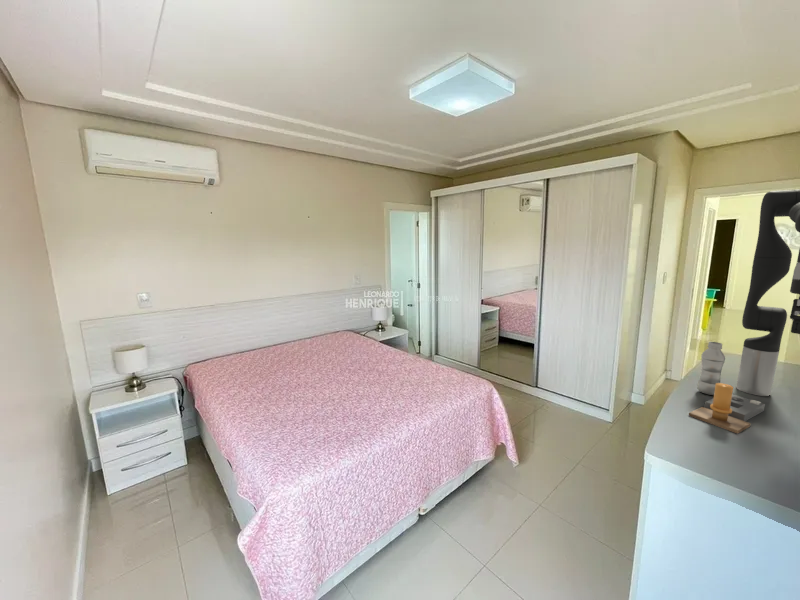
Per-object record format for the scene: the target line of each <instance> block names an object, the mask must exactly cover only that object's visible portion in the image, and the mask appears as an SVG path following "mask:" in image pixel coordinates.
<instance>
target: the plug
mask: <svg viewBox="0 0 800 600" xmlns="http://www.w3.org/2000/svg"><path fill="white" fill-rule="evenodd" d="M733 392H734V386H732V385H730V384H727V383H722V382H720V383H716V385H715V392H714V395H713V398H714V399H713V398H712V399H713V404H711V405H710V408H711V409H712V410H713V412H712V417H713V418H715V419H718V420H722V421H727V419H728V414H730V413H732V409H731V408H730V406H731V399H732V394H733Z"/></svg>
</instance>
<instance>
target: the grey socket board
mask: <svg viewBox="0 0 800 600" xmlns="http://www.w3.org/2000/svg"><path fill="white" fill-rule="evenodd" d="M713 399H714V397H712V398H710V399H709V400H706V401H705V402H704V406H703V407H704V408H707V409H710V410H712V409H711V408H710V405H711V404H713ZM765 406H766V404H765V403H762V402H761V401H759V400H755V399H749V398H746V397H742V396H739V395H736V394H733V393H732V399H731V406H730V408H731V409H732V413H730V414H728V416H731V417H734V418H737V419H739V420H742V421H745V422H747V421H748V420H750V419H752V418H753V417H755V416H758V415H759V414H760V413H763V412H764V411H765Z"/></svg>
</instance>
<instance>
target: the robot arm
mask: <svg viewBox="0 0 800 600" xmlns="http://www.w3.org/2000/svg"><path fill="white" fill-rule="evenodd" d="M759 213H760V215H759V224H758V234H757V235H758V236H757V241H756V246H755V251H754V255H753V259H752V260H753V261H752V266H751V274H750V275H751V276H750V283H749V289H748V293H747V298H746V301H745V306H744V309H743V312H742V313H743V314H742V320H741V324H742V327H743V328H744V329H745V330H753V331H758V332H759V331H760V332H767V333H768V332H769V333H768V334H766V335H765V334H764V335H763V336H757V337H756V336H755V337H749V338H745V339H744V340H743V341H744V342H743V345H742V353H741V358H740V364H739V370H738V375H737V381H736V386H735V387H736V389H737V390H739V391H740V392H743V393H745V394H750V395H754V396H759V397H770V396H771V395H772V390H773V386H774V380H775V375H776V371H777V367H778V366H777V365H778V361H779V354H780V349H781V344H782V343H781V342H782V337H783V334H784V329H785V327H786V323H787V319H788V312H787V310H786V309H785V308H783V307H774V306H765V305H764V306H763V305H762V306H761V305H758V303H759V302H760V301H761V299H762V297H763V296H764V295H766V293H767V292H768V291H769V290H770V289H771V288H773V287H774V286H775V285H776V284H778V283H779V282H780V281H781V280H782V279H784V278H785V277H786V276H787V275H788V274H789V271H790V269H791V263H792V256H793V253H792V250H791V249H790V247H789V246H788V243H786V241H785V240H784V239H783V238H782V236H781V235H780V234H779V231H778V230H777V227H776V223H775V218H776V217H777V218H780V217H781V218H782V217H789V219H790V220H791V221H792V222H794V223H795V224H794V227H795V230H796V232H797V233H800V189H799V188H798V189H784V190H783V189H781V190H770V191H768V192H766V193H765V194H764V196H763V198H762V201H761V206H760V212H759ZM789 292H790V293H791V294H794V295H799V297H798V298H794V299H793V301H792V308H791V311H790V316H789V319H790V320H791V321H792V324H791V329H790V332H791V333H792V334H796V335H800V248H799V249H798V254H797V260H796V265H795V267H794V269H793V274H792V278H791V285H790V289H789ZM769 395H770V396H769Z"/></svg>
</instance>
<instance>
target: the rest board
mask: <svg viewBox="0 0 800 600" xmlns="http://www.w3.org/2000/svg"><path fill="white" fill-rule="evenodd" d="M712 412H713V410H710V409H707V408H704V406H700V407H698V408H697V409H694V410H691V411H690V412H689V413H688V416H689V417H692V418H694V419H697V420H700V421H703V422H706V423H708V424H711V425H713V426H716V427H719V428H721V429H724V430H726V431H730V432H732V433H735V434H739V433H742V432H743V431H744V430H746V429H748V428H749V427H751V422H749V421H748V422H747V421H742V420H739V419H737V418H734V417H731V416H728V419H727V421H722V420H718V419H715V418H713V417H712Z"/></svg>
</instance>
